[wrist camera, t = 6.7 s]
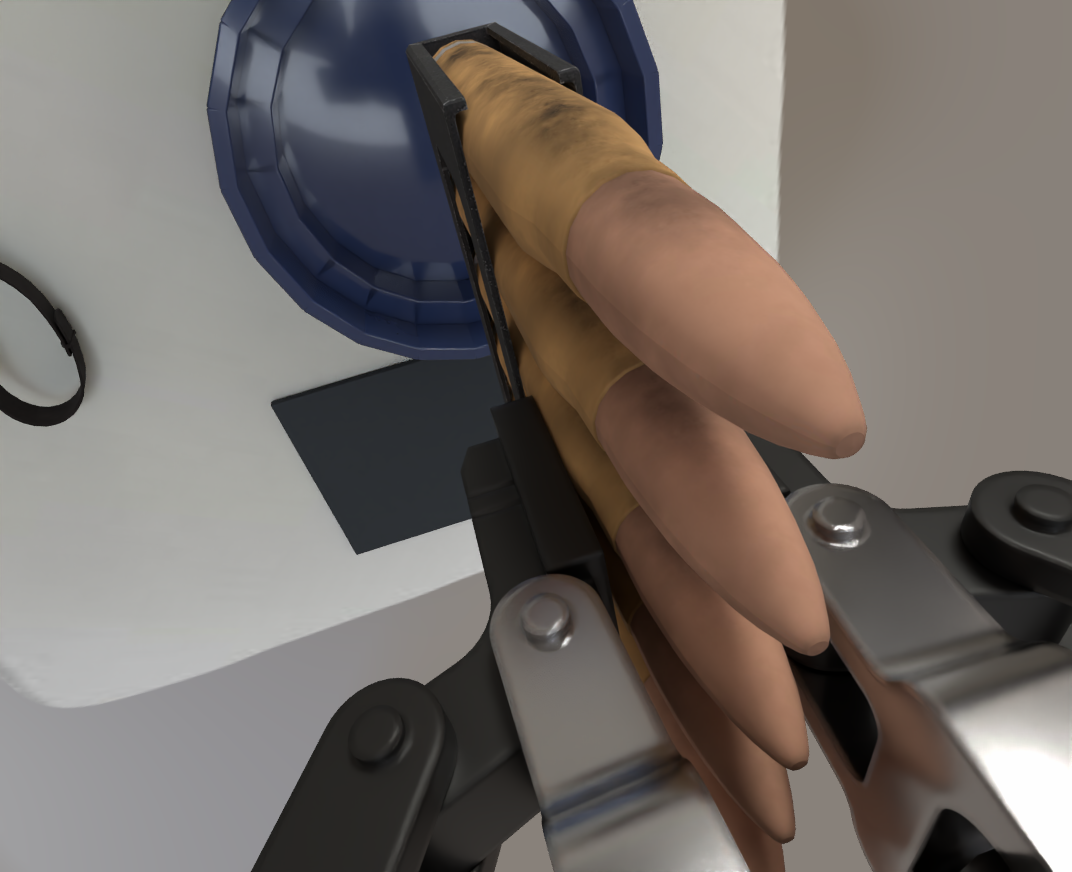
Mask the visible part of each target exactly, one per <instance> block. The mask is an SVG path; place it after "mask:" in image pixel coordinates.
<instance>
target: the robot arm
mask: <svg viewBox="0 0 1072 872" xmlns="http://www.w3.org/2000/svg"><path fill="white" fill-rule="evenodd" d="M490 411H491V415H492V418H493V422H494V425H495V428H496V432H497V435H498V438H496V439H493V440H490V441H487V442H483V443H480V444H477V445H474V446H471V447H468V449H467V452H466V455H465V459H464V462H463V465H462V468H461V471H460V472H461V476H462V480H463V485H464V489H465V493H466V496H467V501H468V505H469V509H470V514H471V517H472V522H473V526H474V530H475V534H476V539H477V543H478V547H479V551H480V555H481V559H482V563H483V568H484V572H485V576H486V580H487V584H488V588H489V592H490V599H491V611H490V616H489V620H488V623H487V626H486V628H485V631H484V632H483V634H482V636H481V638H480V639H479V641H478V642H477V643H476V645H475V646H474V647H473V649H471V651H469V652H468V654H467V655H466V656H464V657H463V658H462V659H461V660H459V661H458V662H457V663H456V664H454V665H453V666H452V667H450V668H449V669H447V670H446V671H444V672H443V673H441V674H440V675H439V676H437V677H436V678H434V679H433V680H432V681H430V682H429V683H427V684H426V685H423V684H421V683H419V682H417V681H414V680H411V679H405V678H393V679H386V680H382V681H378V682H375V683H373V684H371V685H368V686H367V687H365V688H363V689H362V690H360V691H358V692H357V693H355V694H354V695H353V696H352V697H350V698H349V699H348V700H347V701H346V702H345V703H344V704H343V705H342V706H341V707H340V708H339V709H338V710H337V712H336V713H335V714H334V716H333V717H332V718H331V720H330V722H329V723H328V725H327V727H326V729H325V731H324V732H323V734H322V736H321V738H320V740H319V742H318V744H317V746H316V748H315V750H314V751H313V753H312V755H311V757H310V759H309V761H308V763H307V765H306V767H305V769H304V771H303V773H302V775H301V777H300V779H299V780H298V782H297V784H296V786H295V788H294V790H293V792H292V794H291V796H290V798H289V800H288V801H287V803H286V805H285V807H284V809H283V811H282V813H281V815H280V817H279V819H278V821H277V823H276V825H275V826H274V828H273V830H272V832H271V834H270V836H269V838H268V840H267V842H266V844H265V846H264V848H263V850H262V851H261V853H260V855H259V857H258V859H257V861H256V863H255V865H254V867H253V869H252V871H251V872H494V870H495V867H496V863H497V859H498V856H499V852H500V848H501V844H502V843H503V842H504V841H506V840H507V839H508V838H509V837H510V836H512V835H513V834H514V833H515V832H516V831H517V830H519V829H520V828H521V827H522V826H523V825H525V824H526V823H527V822H528V821H529V820H530V819H532V818H533V817H534V816H535V815H536V814H538V813H539V812H540V811H541V815H542V828H543V833H544V837H545V841H546V844H547V848H548V852H549V856H550V860H551V863H552V867H553V870H554V872H750V870H749V868H748V866H747V864H746V862H745V860H744V858H743V856H742V854H741V852H740V850H739V848H738V846H737V844H736V842H735V841H734V839H733V837H732V835H731V833H730V831H729V829H728V827H727V825H726V823H725V821H724V819H723V817H722V815H721V813H720V811H719V809H718V807H717V806H716V804H715V802H714V800H713V798H712V796H711V794H710V792H709V790H708V789H707V787H706V785H705V783H704V782H703V780H702V778H701V777H700V775H699V773H698V772H697V770H696V769H695V767H694V766H693V765H692V763H691V762H690V761H689V760H688V759H687V758H684V757H682V756H681V754H680V753H679V752H678V750H677V749H676V747H675V745H674V744H673V742H672V740H671V738H670V736H669V734H668V732H667V730H666V728H665V726H664V724H663V722H662V720H661V718H660V716H659V714H658V712H657V710H656V708H655V706H654V704H653V702H652V700H651V698H650V696H649V694H648V692H647V690H646V688H645V686H644V684H643V682H642V680H641V678H640V676H639V674H638V672H637V670H636V668H635V666H634V664H633V662H632V660H631V658H630V656H629V654H628V652H627V650H626V648H625V646H624V644H623V642H622V640H621V638H620V634H619V629H618V624H617V619H616V614H615V608H614V603H613V598H612V593H611V588H610V582H609V577H608V572H607V567H606V562H605V556H604V552H603V550H602V547H601V545H600V543H599V541H598V539H597V536H596V534H595V532H594V530H593V528H592V525H591V523H590V521H589V519H588V517H587V514H586V512H585V510H584V508H583V506H582V503H581V501H580V499H579V497H578V495H577V492H576V490H575V488H574V486H573V484H572V481H571V479H570V477H569V475H568V473H567V470H566V468H565V466H564V464H563V462H562V459H561V457H560V455H559V453H558V451H557V448H556V446H555V444H554V442H553V440H552V437H551V435H550V433H549V431H548V429H547V426H546V424H545V422H544V420H543V418H542V415H541V413H540V411H539V409H538V407H537V404H536V402H535V400H534V398H533V396H532V395H531V396H527V397H524V398H521V399H518V400H515V401H511V402H508V403H505V404H502V405H498V406H495V407H492V408H490ZM744 432H745V433H746V435H747V436H748V438H749V439H750V441H751V442H752V444H753V445H754V447H755V448H756V450H757V451H758V453H759V455H760V456H761V458H762V459H763V461H764V462H765V464H766V465H767V467H768V469H769V470H770V472H771V474H772V476H773V478H774V480H775V481H776V483H777V485H778V487H779V489H780V491H781V493H782V495H783V497H784V499H785V501H786V503H787V505H788V507H789V509H790V511H791V513H792V514H793V516H794V518H795V520H796V523H797V525H798V527H799V530H800V532H801V534H802V537H803V539H804V541H805V543H806V546H807V548H808V550H809V553H810V555H811V557H812V560H813V562H814V565H815V568H816V571H817V574H818V577H819V581H820V584H821V587H822V590H823V595H824V600H825V604H826V609H827V614H828V619H829V627H830V639H829V645H828V647H827V649H826V650H824V651H823V652H822V653H820V654H818V655H815V656H809V655H805V654H801V653H798V652H797V651H795V650H793V649H791V648H789V647H787V646H785V645H784V644H782V645H783V648H784V650H785V653H786V656H787V659H788V662H789V665H790V668H791V671H792V674H793V677H794V679H795V682H796V685H797V688H798V692H799V696H800V700H801V704H802V708H803V712H804V718H805V721H806V723H807V724H808V726H809V728H810V730H811V732H812V733H813V735H814V737H815V739H816V741H817V742H818V744H819V746H820V748H821V749H822V751H823V753H824V755H825V757H826V759H827V760H828V762H829V764H830V766H831V768H832V770H833V771H834V773H835V775H836V777H837V779H838V781H839V782H840V784H841V786H842V789H843V791H844V793H845V796H846V798H847V801H848V804H849V807H850V811H851V816H852V821H853V825H854V829H855V832H856V835H857V838H858V840H859V843H860V846H861V848H862V850H863V853H864V855H865V857H866V859H867V861H868V863H869V865H870V867H871V869H872V871H873V872H1072V480H1068V479H1065V478H1062V477H1058V476H1055V475H1051V474H1046V473H1040V472H1033V471H1010V472H1003V473H999V474H995V475H992V476H990V477H987V478H985V479H984V480H983V481H981V482H980V483H978V485H977V486H976V487H975V488H974V490H973V492H972V495H971V498H970V500H969V503H968V505H967V506H951V507H931V508H915V509H895V508H890V507H889V506H888V505H887V504H886V503H885V502H884V501H883V500H881V499H880V498H878V497H877V496H875V495H873V494H871V493H869V492H867V491H865V490H862V489H859V488H857V487H852V486H849V485H843V484H832V483H830V482H829V481H828V480H827V479H826V478H825V477H824V476H823V475H822V474H821V473H820V472H819V471H818V470H817V469H816V468H815V467H814V466H813V465H812V464H811V463H810V461H809V460H808V459H807V458H806V457H805V456H804V455H802V453H801V452H799V451H796V450H793V449H789V448H786V447H783V446H779V445H776V444H774V443H772V442H769V441H767V440H765V439H762V438H760V437H758V436H755V435H753V434H751V433H748V432H747V431H745V430H744Z"/></svg>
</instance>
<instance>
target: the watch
mask: <svg viewBox="0 0 1072 872" xmlns="http://www.w3.org/2000/svg"><path fill="white" fill-rule="evenodd" d="M0 279H1V280H2V281H4V282H6V283H7V284H9V285H11V286H12V287H14V288H15V289H17V290H18V291H19V292H20V293H22V294H23V295H24V296H25V297H27V298H28V299H29V300H30V301H31V302H32V303H33V304H34V305H35V306H36V308H37V309H38V310H39V311H40V312H41V314H42V315H43V316H44V317H45V318H46V320H47V321H48V323H49V324H50V325H51V327H52V328H53V330H54V331H55V333H56V334H57V336H58V337H59V339H60V340H61V345H62V347H63V348H65V350H66V352H67V354H68V356H72V353H73V356H74V359H75V362H76V365H77V369H78V373H79V377H80V384H81V385H80V387H79V389H78V391H77V393H76V394H75V395H74V396H73V397H72V398H71V399H70V400H69V401H67V402H65V403H62V404H60V405H56V406H51V407H42V406H36V405H32V404H29V403H26V402H24V401H22V400H20V399H18V398H17V397H15V396H13V395H12V394H10V393H9V392H8V391H7V390H5V389H4V388H3V387H2V386H1V385H0V410H1V411H2V412H4V413H5V414H6V415H8V416H9V417H11V418H13V419H15V420H17V421H19V422H22V423H25V424H29V425H33V426H52V425H56V424H59V423H61V422H64V421H66V420H67V419H68V418H70V417H71V416H72V415H74V413H75V412H76V411H77V410H78V408H79V406H80V404H81V403H82V400H83V397H84V389H85V381H86V367H85V363H84V358H83V354H82V352H81V349H80V346H79V343H78V340H77V338H76V336H75V334H76V332H75V330H72V328H71V326H70V324H69V322H68V321H67V319H66V317H65V316H64V314H63V312H62V311H61V310H60V309H59V308H57V309H54V308H53V306H52V305H51V304H50V303H49V301H48V300H47V299H46V297H45V296H44V295H43V294H42V293H41V292H40V291H39V290H38V289H37V288H36V287H35V286H34V285H33V284H32V283H31V282H30V281H29V280H27V279H26V278H25V277H24V276H22V275H21V274H20V273H18V272H16V271H15V270H13V269H12V268H10V267H9V266H6V265H4V264H2V263H0Z"/></svg>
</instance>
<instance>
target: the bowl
mask: <svg viewBox="0 0 1072 872" xmlns="http://www.w3.org/2000/svg"><path fill="white" fill-rule="evenodd" d="M493 22H496V23H498V24H499V25H501V26H503V27H505V28H507V29H508V30H510V31H512V32H514V33H516V34H517V35H519V36H521V37H523V38H525V39H527V40H528V41H530V42H532V43H534V44H536V45H537V46H539V47H541V48H543V49H545V50H546V51H548V52H550V53H552V54H554V55H556V56H557V57H559V58H561V59H563V60H565V61H566V62H568V63H570V64H572V65H574V66H575V67H577V68H578V69H579V72H580V75H581V82H582V90H583V97H585V98H587V99H589V100H591V101H593V102H595V103H597V104H599V105H601V106H602V107H604V108H606V109H608V110H610V111H612V112H614V113H615V114H617V115H618V116H619V117H621V118H622V119H623V120H624V121H625V122H626V123H627V124H628V125H629V126H630V127H631V128H632V129H633V130H634V131H635V132H637V133H638V134H639V135H640V136H641V138H642V139H643V140H644V142H645V143H646V145H647V146H648V148H649V149H650V151H651V152H652V154H653V156H654V157H655V158H656V159H657V160H660V155H661V150H662V144H663V137H662V121H661V104H660V88H659V72H658V71H657V70H658V69H657V66H656V63H655V60H654V58H653V55H652V52H651V49H650V46H649V44H648V41H647V38H646V35H645V33H644V30H643V27H642V24H641V21H640V19H639V16H638V13H637V10H636V8H635V5H634V2H633V0H231V2H230V3H229V5H228V7H227V9H226V11H225V12H224V14H223V16H222V18H221V22H220V23H219V30H218V36H217V42H216V49H215V55H214V62H213V68H212V74H211V81H210V87H209V93H208V100H207V107H208V108H207V114H208V120H209V126H210V132H211V138H212V144H213V150H214V156H215V162H216V168H217V174H218V180H219V186H220V189H221V193H222V195H223V197H224V198H225V200H226V202H227V204H228V206H229V208H230V210H231V212H232V214H233V216H234V218H235V220H236V222H237V224H238V226H239V228H240V230H241V232H242V234H243V236H244V238H245V240H246V242H247V244H248V246H249V248H250V250H251V252H252V254H253V256H254V258H256V260H257V261H258V263H259V264H260V265H261V266H262V267H263V268H264V269H265V270H266V271H267V272H268V273H269V274H270V275H271V277H272V278H273V279H274V280H275V281H276V282H277V283H278V284H279V285H280V286H281V287H282V288H283V289H284V290H285V292H286V293H287V294H288V295H289V296H290V297H291V298H292V299H293V300H294V301H295V302H296V303H297V304H298V305H299V307H300V308H301V309H302V310H304V311H305V312H306V313H308V314H310V315H311V316H313V317H315V318H316V319H318V320H320V321H321V322H323V323H325V324H326V325H328V326H330V327H331V328H333V329H335V330H336V331H338V332H340V333H341V334H343V335H345V336H346V337H348V338H350V339H351V340H353V341H355V342H356V343H358V344H361V345H364V346H368V347H371V348H375V349H379V350H382V351H386V352H390V353H394V354H397V355H401V356H405V357H408V358H412V359H416V360H418V359H419V360H460V359H479V358H482V357H485V356H489V355H491V353H490V349H489V346H488V342H487V339H486V335H485V331H484V328H483V324H482V321H481V317H480V314H479V310H478V307H477V303H476V300H475V296H474V292H473V289H472V285H471V282H470V278H469V275H468V271H467V268H466V264H465V261H464V257H463V254H462V250H461V246H460V243H459V239H458V236H457V232H456V229H455V225H454V222H453V218H452V215H451V211H450V207H449V204H448V200H447V197H446V193H445V190H444V186H443V183H442V179H441V176H440V172H439V169H438V165H437V161H436V158H435V154H434V151H433V147H432V144H431V140H430V137H429V133H428V130H427V126H426V122H425V119H424V115H423V112H422V108H421V105H420V101H419V98H418V94H417V91H416V87H415V84H414V80H413V76H412V73H411V69H410V66H409V62H408V59H407V55H406V49H407V47H408V45H409V44H413V43H417V42H421V41H424V40H428V39H432V38H436V37H440V36H443V35H447V34H451V33H455V32H459V31H462V30H466V29H470V28H474V27H477V26H481V25H485V24H489V23H493Z"/></svg>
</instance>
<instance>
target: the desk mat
mask: <svg viewBox="0 0 1072 872" xmlns="http://www.w3.org/2000/svg"><path fill="white" fill-rule="evenodd" d="M502 404H505V402H504V399H503V395H502V392H501V388H500V385H499V381H498V378H497V374H496V370H495V367H494V363H493V360H492V356H491V355H489V356H485V357H482V358H479V359H460V360H419V359H418V360H416V359H413V360H410V361H407V362H403V363H400V364H397V365H393V366H390V367H386V368H383V369H380V370H376V371H373V372H370V373H366V374H363V375H360V376H356V377H353V378H349V379H346V380H343V381H339V382H336V383H333V384H329V385H326V386H323V387H319V388H316V389H312V390H309V391H306V392H302V393H299V394H296V395H292V396H289V397H285V398H282V399H279V400H275V401H272V402H271V407H272V408H273V410H274V412H275V413H276V415H277V417H278V419H279V420H280V422H281V424H282V426H283V427H284V429H285V431H286V433H287V434H288V436H289V438H290V440H291V441H292V443H293V445H294V447H295V448H296V450H297V452H298V453H299V455H300V457H301V459H302V460H303V462H304V464H305V466H306V467H307V469H308V471H309V473H310V474H311V476H312V478H313V480H314V481H315V483H316V485H317V487H318V488H319V490H320V492H321V494H322V495H323V497H324V499H325V500H326V502H327V504H328V506H329V507H330V509H331V511H332V513H333V514H334V516H335V518H336V520H337V521H338V523H339V525H340V527H341V528H342V530H343V532H344V534H345V535H346V537H347V539H348V541H349V542H350V544H351V546H352V547H353V549H354V551H355V553H356V554H357V555H358V554H361V553H364V552H367V551H370V550H374V549H377V548H380V547H383V546H386V545H389V544H392V543H396V542H399V541H402V540H405V539H408V538H411V537H414V536H418V535H421V534H424V533H427V532H430V531H433V530H437V529H440V528H443V527H446V526H449V525H452V524H455V523H459V522H462V521H465V520H468V519H471V518H472V517H471V514H470V509H469V505H468V501H467V496H466V493H465V489H464V485H463V480H462V476H461V472H460V471H461V468H462V465H463V462H464V459H465V455H466V452H467V449H468V447H471V446H474V445H477V444H480V443H483V442H487V441H490V440H493V439H496V438H498V435H497V432H496V428H495V425H494V422H493V418H492V415H491V411H490V408H492V407H495V406H498V405H502Z"/></svg>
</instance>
